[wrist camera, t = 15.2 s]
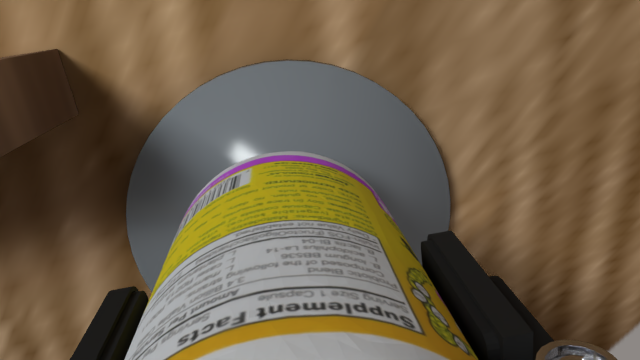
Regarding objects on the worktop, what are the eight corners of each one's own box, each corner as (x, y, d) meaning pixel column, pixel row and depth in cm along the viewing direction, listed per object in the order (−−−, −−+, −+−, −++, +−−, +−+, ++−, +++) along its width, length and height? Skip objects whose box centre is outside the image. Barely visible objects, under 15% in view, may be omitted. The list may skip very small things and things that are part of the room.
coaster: (176, 369, 18) (173, 380, 18) (88, 89, 15) (80, 92, 14) (451, 319, 19) (457, 328, 18) (435, 34, 15) (442, 35, 14)
